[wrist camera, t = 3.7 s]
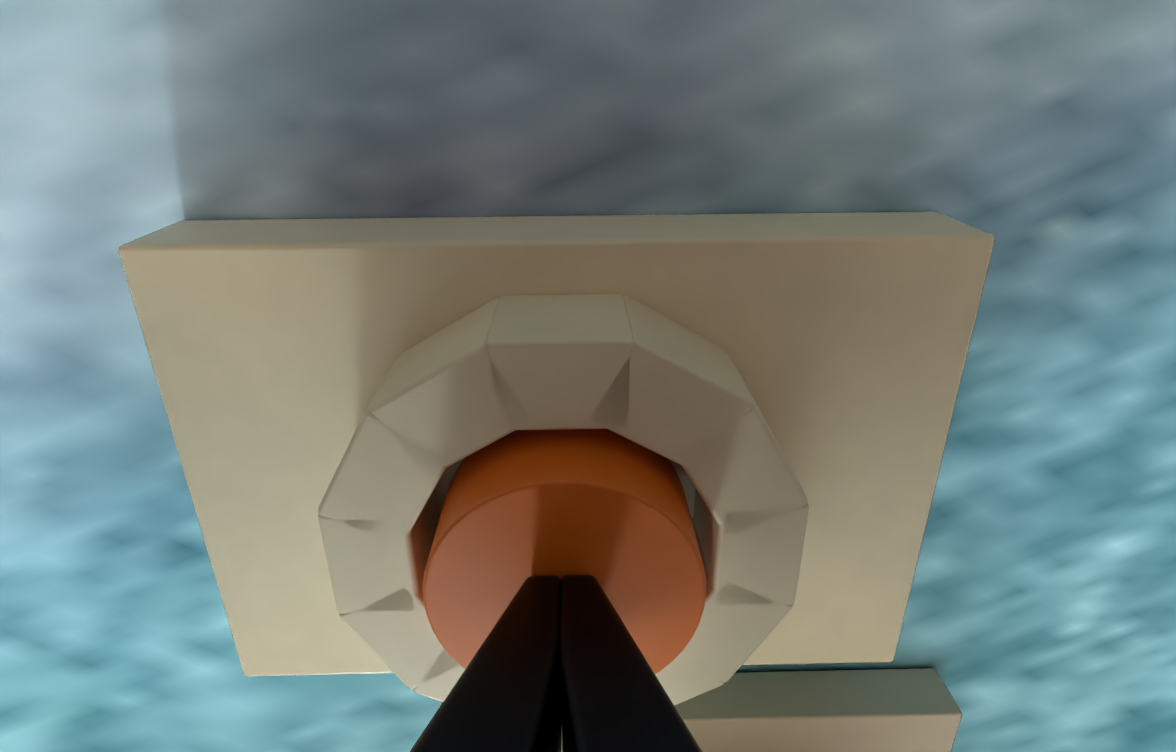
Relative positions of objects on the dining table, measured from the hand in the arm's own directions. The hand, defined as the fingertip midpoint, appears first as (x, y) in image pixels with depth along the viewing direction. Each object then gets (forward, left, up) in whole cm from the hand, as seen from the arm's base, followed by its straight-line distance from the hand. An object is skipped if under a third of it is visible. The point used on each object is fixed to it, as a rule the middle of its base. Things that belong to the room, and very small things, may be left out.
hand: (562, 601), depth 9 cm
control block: (0, 0, -4) cm, 4 cm away
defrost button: (0, 0, -2) cm, 2 cm away
